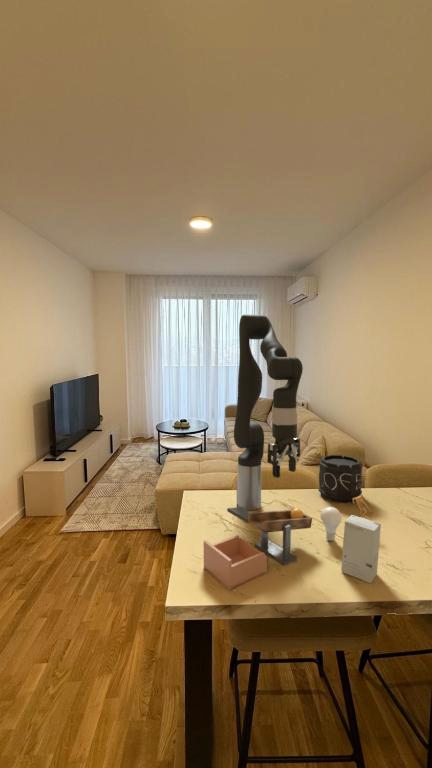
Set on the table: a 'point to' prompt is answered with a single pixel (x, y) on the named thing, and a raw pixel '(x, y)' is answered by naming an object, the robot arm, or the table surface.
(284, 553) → the lever stand
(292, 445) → the robot arm
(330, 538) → the lightbulb
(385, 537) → the table surface
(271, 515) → the lever trough
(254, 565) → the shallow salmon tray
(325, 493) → the chalkboard pot
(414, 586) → the table surface
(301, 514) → the ball
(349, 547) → the skincare box
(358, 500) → the figurine
